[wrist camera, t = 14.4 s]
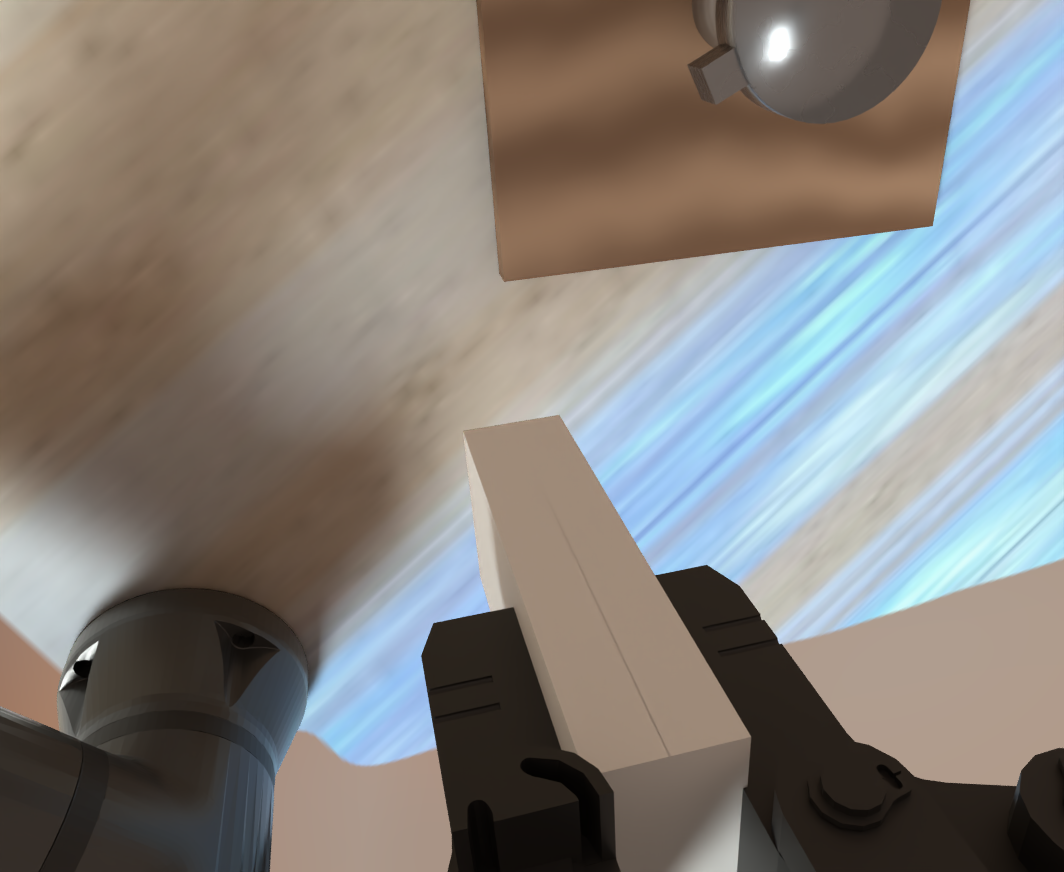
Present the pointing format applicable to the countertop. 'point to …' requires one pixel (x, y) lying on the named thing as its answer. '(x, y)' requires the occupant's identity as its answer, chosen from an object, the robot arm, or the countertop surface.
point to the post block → (684, 142)
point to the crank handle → (814, 54)
